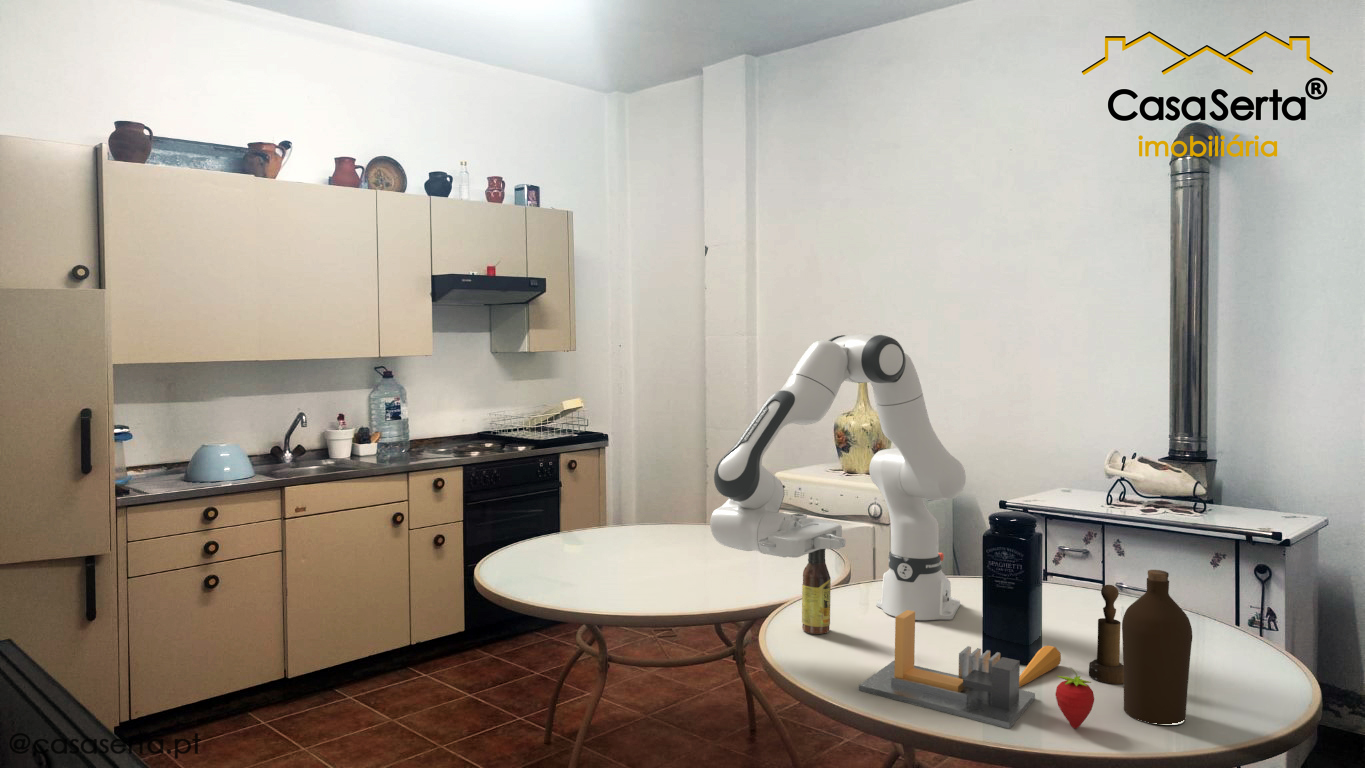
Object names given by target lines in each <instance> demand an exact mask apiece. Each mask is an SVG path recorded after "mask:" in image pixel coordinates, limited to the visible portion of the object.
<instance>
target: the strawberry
mask: <svg viewBox="0 0 1365 768" xmlns="http://www.w3.org/2000/svg"><path fill="white" fill-rule="evenodd" d="M1069 668H1070V670H1072V671H1073V672H1074V673H1075V674H1076V675H1075V676H1074V677H1073V678H1072V677H1069V676H1061V675H1056V677H1057V678H1060V679H1062V680H1063V681H1061V682H1059V684H1058V685H1057V686H1056V689H1055V693H1054V694H1055V699H1056V704H1057V706H1058V708H1059V710H1060V711H1061V713H1062V714H1063V716H1064V717H1065V719H1066V721H1068V723H1069V724H1070V726H1071V727H1072V728H1073V729H1079V727H1080V726H1081V725H1082V724H1083V723H1084V721H1086V718H1087V717H1088V716H1089V715H1090V713H1091V712H1092V709H1093V706H1094V703H1095V695H1094V691H1093V690H1092V688H1091V687H1090V685H1088V684H1089V683H1090V684H1091V683H1092V681H1088V680H1085V679H1083V678H1082V677H1081V676H1082V675H1080V676H1079V675H1078V674H1077V673H1076V672H1075V670H1074V669H1073V668H1072V667H1071V666H1070V667H1069Z"/></svg>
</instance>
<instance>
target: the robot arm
mask: <svg viewBox="0 0 1365 768" xmlns="http://www.w3.org/2000/svg"><path fill="white" fill-rule="evenodd" d="M844 382H848V383H849V382H850V383H856V384H862V383H863V384H865V383H870V385H871V387H872V391H873V398H874V403H875V407H876V411H877V415H878V420H879V424H880V429H881V431H882V433H883V435H884V437H886V439H888V440H889V441H890V442H891V443H892V444H893V445H894V446H895V447H894V448H886V449H881V450H878V451H877V452H876V453H874V455H873V456H872V458H871V459H870V462H869V466H868V467H869V469H868V470H869V471H868V473H869V476H870V479H871V481H872V483H873V484H874V485H875V486H876V487H877V489H878V491H880V493H881V495H882V497H883V499H884V503H885V506H886V509H887V511H888V515H889V521H890V550H889V552H888V554H889V555H888V560H887V561H888V568H889V569H888V570H887V571H885V572H884V573H883V576H882V587H881V599H878V600H876V603H875V606H877V607H878V608H880V609H881V610H882V611H883V612H884V613H885V614H887V615H889V616H891V617H896V616H898V615H900V614H901V613H903V612H905V611H906V610H910V611H915V621H934V620H946V621H947V620H949V621H950V620H953V619H954V617H955V615H956V613H957V612H958V609H959V608H960V606H961V601H960V599H957V598H956V597H953V596H951V595H952V594H951V593H952V592H951V591H952V590H951V588H952V586H951V585H952V584H951V581H950V580H949V578H948V576H946V574H945V573H944V572H943V571H942V562H943V561H944V559H945V558H944V557H945V554H944V553H943V552H939V540H940V539H939V538H940V537H939V536H940V535H939V534H940V533H939V531H940V529H939V528H940V526H939V522H938V520H937V518H936V517H935V516H934V515H933V514H932V513H931V512H930V511H929V509H928V507H927V505H926V502H925V499H926V500H931V501H945V500H953V499H955V498H957V497H958V496H959V495H960V494H961V493H962V491H963V490H964V487H965V486H966V485H965V484H966V479H967V478H966V477H967V476H966V471H965V468H964V465H963V464H962V462H961V461H960V460H958V458H955V456H953V455H952V454H951V453H950V452H949V451H948V450H947V448H946V447H945V446H944V445H943V444H942V442H941V440H940V439H939V437H938V436H937V434H936V432H935V430H934V428H933V426H932V424H931V422H930V421H931V420H930V418H929V414H928V411H927V406H926V402H925V401H926V400H925V398H924V393H923V389H922V385H921V382H920V378H919V375H918V372H917V370H916V367H915V364H914V362H913V360H912V358H911V357H910V355H908V354H907V353H905V351H904V349H903V347H902V345H901V344H900V342H898V341H897V340H896V339H895V338H893V337H890V336H888V335H883V334H877V335H876V334H869V333H858V334H850V335H844V334H842V335H837V336H834V337H832V338H830V339H827V340H826V339H820V340H817V341H814V342H813V343H811V344H810V345H809V347H807V349H806V350H805V352H804V353H803V354H802V356H800V358H799V360H798V361H797V363H796V365H795V366H794V367H793V369H792V371H791V373H790V375H789V376H788V378H787V380H786V382H785V383H784V385H783V386H782V387H781V388H780V389H779V390H778V391H775V392H773V393H772V394H771V395H770V396H769V397H768V398H767V400H766V401H764V403H763V404H762V406H761V407H760V408H759V410H758V411H757V413H756V414H755V416H754V417H753V418H752V420H751V421H750V422H749V424H748V425H747V427H746V429H745V430H744V431H743V433H742V434H741V435H740V437H739V439H738V440H737V442H736V443H734V445H733V446H732V447H731V448H730V449H729V450H728V451H727V452H726V453H725V454H724V455H723V456H722V458H720V460H719V461H718V463H717V464H716V467H715V471H714V475H713V481H714V485H715V486H714V487H715V489H716V490H717V491H718V493H719V494H721V495H722V496H723V497H726V498H728V499H727V500H726V501H725V502H724V503H723V504H722V505H721V506H719V507H717V508H716V509H714V510H713V512H712V514H711V515H710V520H709V521H710V522H709V524H710V525H709V526H710V532H711V533H712V534H711V535H712V536H713V538H714V539H715V541H716V542H717V543H719V544H720V545H722V546H724V547H726V548H731V549H734V550H737V551H738V550H739V551H743V552H755V551H756V552H759V553H761V554H762V555H768V556H772V557H773V556H774V557H779V558H794V559H795V558H800V557H802V556H805V555H808V553H811V552H813V551H816V550H819V549H826V550H829V549H831V550H839V549H843V548H845V547H846V545H847V543H846V538H845V537H843V535H842V534H843V532H842V531H843V528H842V525H841V524H839V523H837V522H834V521H830V520H825V519H819V518H814V517H808V515H807V514H805V513H787V512H786V513H785V512H779V511H780V510H781V507H782V504H783V501H784V497H785V489H784V485H783V483H782V482H781V480H780V479H779V478H778V477H777V476H776V475H774V474H773V473H772V472H771V471H770V470H768V469H767V468H766V467H765V466H764V465H763V457H764V456H765V453H766V452H767V450H768V449H769V448H770V446H771V444H772V443H773V442H774V440H775V439H776V438H777V436H778V434H779V433H780V432H781V430H782V429H783V428H785V426H786V427H787V425H790V424H795V425H802V426H807V425H809V426H810V425H812V424H816V423H819V422H820V421H821V420H822V419H824V417H825V416H826V414H827V413H828V412H829V411H830V408H831V407H832V405H833V403H834V401H835V399H836V398H837V394H838V392H839V391H840V389H841V386H842V384H844Z"/></svg>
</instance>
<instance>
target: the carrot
mask: <svg viewBox="0 0 1365 768" xmlns="http://www.w3.org/2000/svg"><path fill="white" fill-rule="evenodd" d="M1061 655H1062V654H1061V652H1060V650H1058V649H1057V647H1055V646H1053V645H1052V646H1051V645H1044V646H1043V647H1041V648H1040V649H1038V651H1036V653H1035V655H1034V656H1033V657H1032V659H1031V660H1030V662H1028V664H1027V665H1026V666H1025V668H1024V670H1023V671H1022V672H1021V673H1020V674H1019V688H1020V687H1022V686H1024V685H1027V684H1029V683H1030V682H1032V681H1033V680H1036V679H1038V678H1039V677H1040V676H1043V675H1044V674H1046V673H1048V672H1049V671H1052V670H1053V669H1055V668H1056V667H1057V666H1059V665H1061V662H1062V659H1061V658H1062V657H1061Z"/></svg>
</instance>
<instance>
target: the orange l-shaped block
mask: <svg viewBox="0 0 1365 768" xmlns="http://www.w3.org/2000/svg"><path fill="white" fill-rule="evenodd" d="M894 617H895V616H894ZM894 622H895V623H894V628H895V629H894V632H895V633H894V661H895V675H894V677H897V678H901V679H905V680H909V681H913V682H918V683H922V684H926V685H930V686H934V687H939V688H943V689H947V690H951V691H955V692H959V693H960V692H961V691H962V690H963V689H964V688H965V687H964V686H963V679H960V678H955V677H951V676H947V675H942V674H938V673H934V672H929V671H925V670H921V669H916V668H914V666H915V643H916V642H915V641H916V640H915V638H916V636H915V635H916V620H915V611H910V610H906V611H905V612H903V613H901V614H900V615H898V616H896V617H895V621H894Z"/></svg>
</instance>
